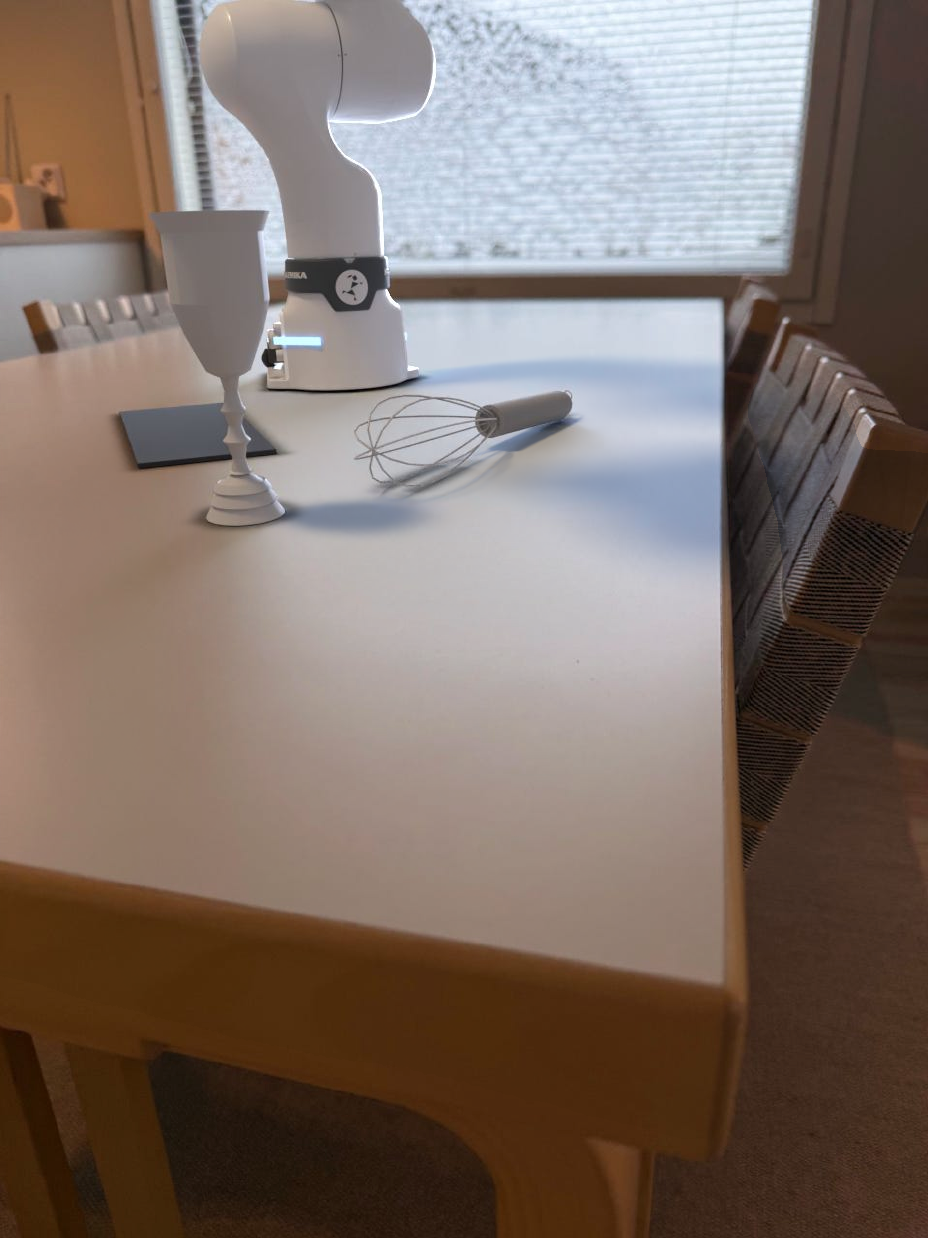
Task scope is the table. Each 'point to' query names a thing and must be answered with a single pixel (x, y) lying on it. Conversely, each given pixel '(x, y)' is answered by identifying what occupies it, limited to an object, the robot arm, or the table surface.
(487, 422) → the kitchen whisk
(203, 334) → the chalice
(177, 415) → the mat
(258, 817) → the table surface
